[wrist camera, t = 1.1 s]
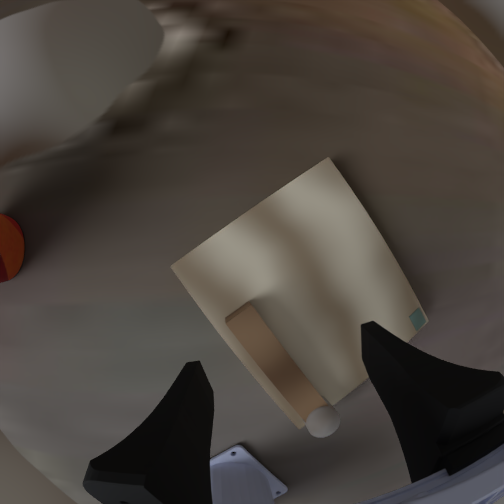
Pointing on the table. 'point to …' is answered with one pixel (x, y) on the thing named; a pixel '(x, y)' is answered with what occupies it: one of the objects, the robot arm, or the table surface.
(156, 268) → the table surface
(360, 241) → the cream flat block
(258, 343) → the folding leg
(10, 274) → the coffee cup
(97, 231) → the table surface
